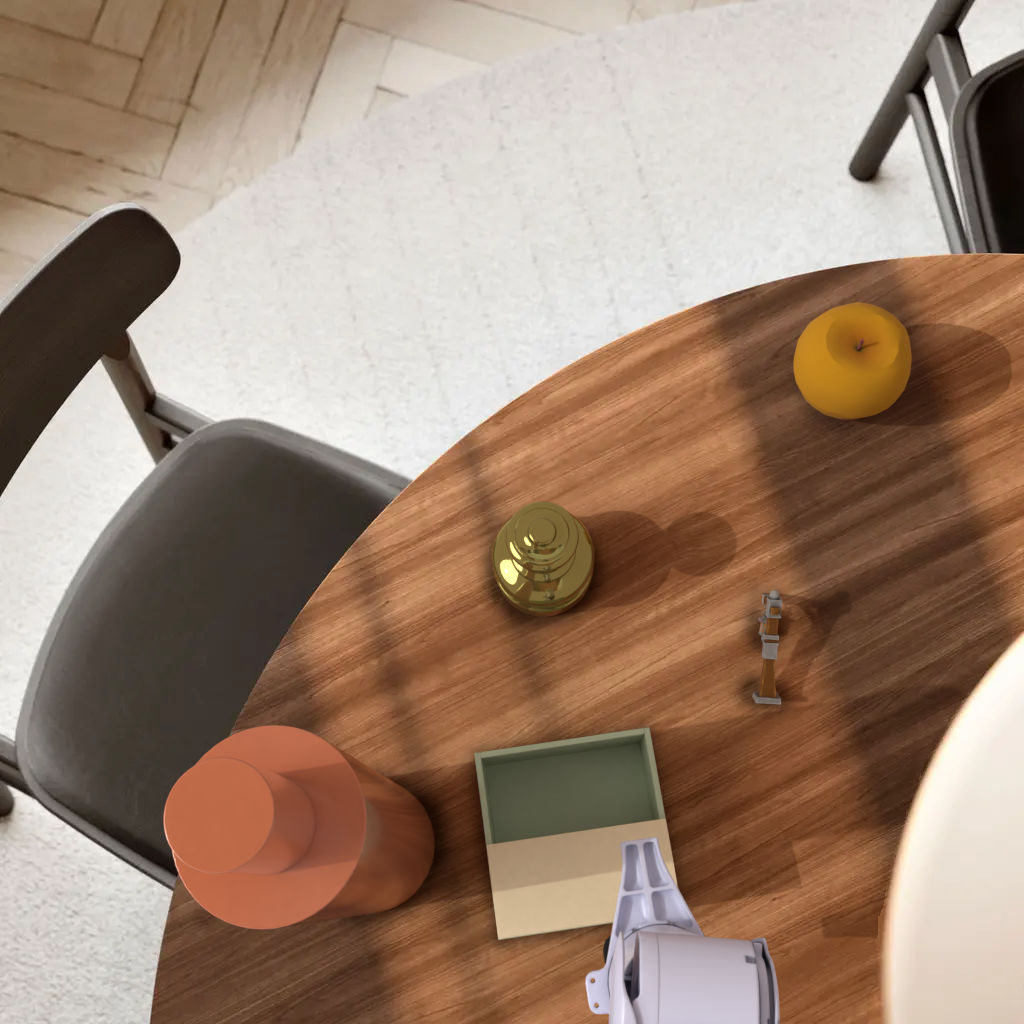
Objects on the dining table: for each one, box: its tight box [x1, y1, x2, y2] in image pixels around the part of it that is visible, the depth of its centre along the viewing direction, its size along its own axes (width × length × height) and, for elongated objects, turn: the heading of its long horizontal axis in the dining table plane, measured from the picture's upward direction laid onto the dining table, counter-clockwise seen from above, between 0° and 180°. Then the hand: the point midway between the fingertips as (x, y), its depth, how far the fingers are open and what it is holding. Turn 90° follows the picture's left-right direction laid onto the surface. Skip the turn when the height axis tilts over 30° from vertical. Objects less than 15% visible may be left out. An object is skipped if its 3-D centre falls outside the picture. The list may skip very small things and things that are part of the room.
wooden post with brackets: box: [751, 589, 783, 705], centre depth 83 cm, size 2×8×4 cm, turn 176°
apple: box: [793, 301, 913, 420], centre depth 86 cm, size 8×8×9 cm
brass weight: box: [491, 500, 596, 618], centre depth 82 cm, size 7×7×10 cm
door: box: [485, 819, 679, 940], centre depth 74 cm, size 6×12×1 cm, turn 98°
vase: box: [163, 724, 436, 930], centre depth 63 cm, size 9×9×38 cm
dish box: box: [473, 726, 667, 941], centre depth 78 cm, size 12×12×6 cm
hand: (650, 970), depth 69 cm, fingers closed
